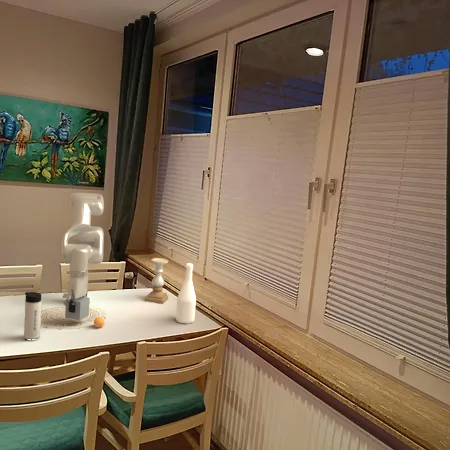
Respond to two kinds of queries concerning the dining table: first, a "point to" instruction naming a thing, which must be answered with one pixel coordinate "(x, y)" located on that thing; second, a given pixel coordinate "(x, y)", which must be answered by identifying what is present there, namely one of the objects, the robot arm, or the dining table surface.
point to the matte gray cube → (78, 309)
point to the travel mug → (32, 315)
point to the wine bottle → (186, 299)
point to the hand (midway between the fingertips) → (77, 309)
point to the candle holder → (157, 283)
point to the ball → (99, 322)
